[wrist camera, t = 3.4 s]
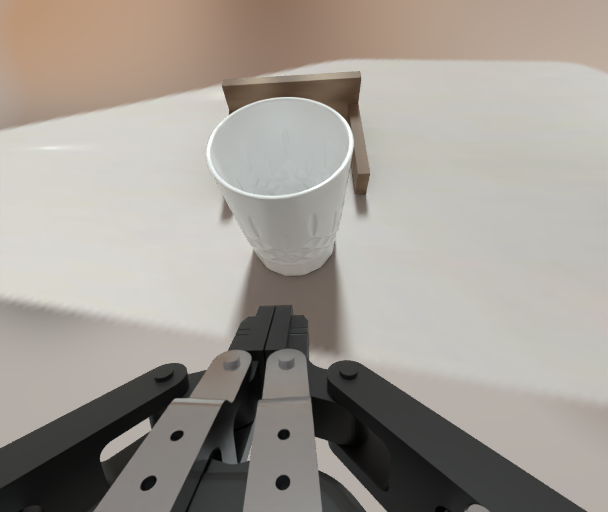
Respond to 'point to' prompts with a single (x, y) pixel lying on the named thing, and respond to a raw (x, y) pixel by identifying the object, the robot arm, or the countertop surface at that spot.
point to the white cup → (284, 178)
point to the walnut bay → (318, 87)
